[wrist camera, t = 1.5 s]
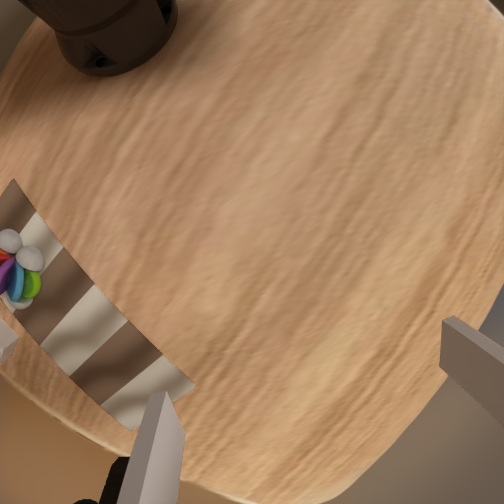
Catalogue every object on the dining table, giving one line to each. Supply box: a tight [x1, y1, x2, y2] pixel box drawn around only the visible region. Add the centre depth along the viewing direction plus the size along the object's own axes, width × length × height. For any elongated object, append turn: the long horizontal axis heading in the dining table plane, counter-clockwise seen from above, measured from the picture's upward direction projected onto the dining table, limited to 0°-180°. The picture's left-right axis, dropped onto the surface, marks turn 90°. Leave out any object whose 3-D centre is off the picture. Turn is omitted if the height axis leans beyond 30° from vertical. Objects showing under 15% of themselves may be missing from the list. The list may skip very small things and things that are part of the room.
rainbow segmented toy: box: [0, 229, 44, 310], centre depth 31 cm, size 8×10×7 cm
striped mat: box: [0, 179, 196, 431], centre depth 36 cm, size 36×14×1 cm, turn 41°
